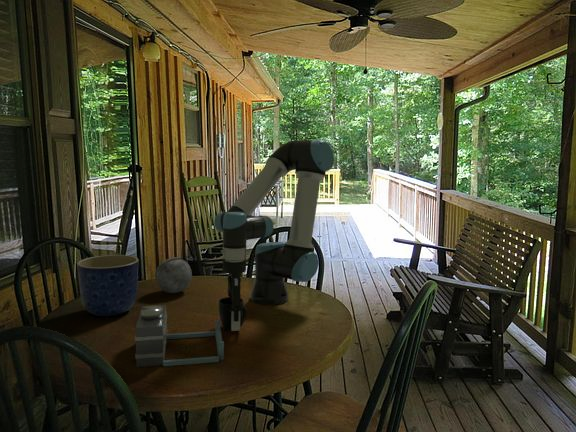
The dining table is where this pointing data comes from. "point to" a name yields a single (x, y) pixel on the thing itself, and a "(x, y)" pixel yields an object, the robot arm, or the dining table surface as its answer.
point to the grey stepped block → (151, 336)
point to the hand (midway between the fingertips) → (233, 322)
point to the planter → (108, 283)
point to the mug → (225, 312)
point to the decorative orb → (173, 275)
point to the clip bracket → (204, 359)
